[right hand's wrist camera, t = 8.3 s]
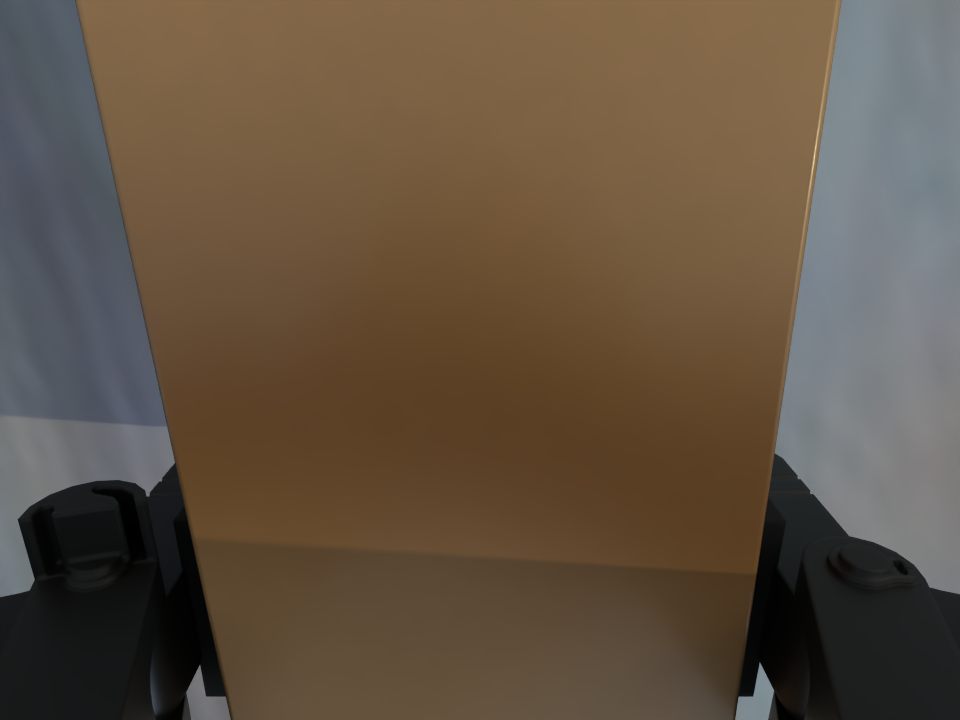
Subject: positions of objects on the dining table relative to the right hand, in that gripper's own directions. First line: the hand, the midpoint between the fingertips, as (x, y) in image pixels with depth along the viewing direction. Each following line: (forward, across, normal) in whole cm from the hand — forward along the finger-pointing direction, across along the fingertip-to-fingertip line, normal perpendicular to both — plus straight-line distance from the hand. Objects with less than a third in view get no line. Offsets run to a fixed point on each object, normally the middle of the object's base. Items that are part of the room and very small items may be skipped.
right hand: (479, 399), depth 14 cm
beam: (+1, +1, -30) cm, 30 cm away
